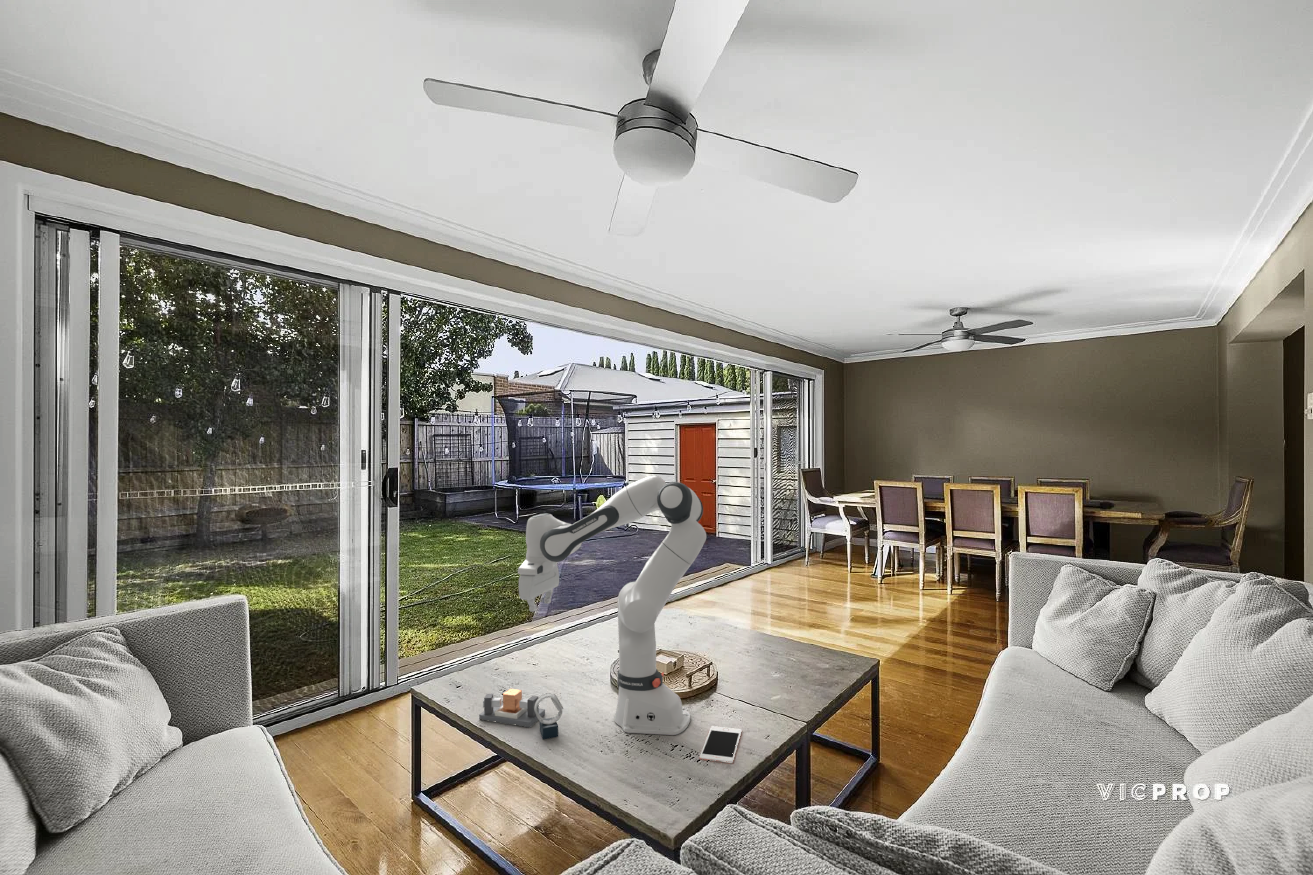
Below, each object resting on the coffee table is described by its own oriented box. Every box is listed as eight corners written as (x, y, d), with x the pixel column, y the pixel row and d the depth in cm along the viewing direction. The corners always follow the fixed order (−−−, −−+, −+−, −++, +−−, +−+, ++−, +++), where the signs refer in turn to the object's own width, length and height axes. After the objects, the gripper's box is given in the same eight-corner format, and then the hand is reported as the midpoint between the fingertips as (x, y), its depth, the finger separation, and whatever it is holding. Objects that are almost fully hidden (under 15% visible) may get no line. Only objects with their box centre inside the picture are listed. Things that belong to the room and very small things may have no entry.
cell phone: (742, 732, 173) (742, 728, 173) (733, 765, 156) (733, 761, 156) (711, 728, 176) (711, 725, 176) (699, 760, 158) (699, 757, 158)
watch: (565, 735, 172) (564, 696, 172) (536, 740, 169) (535, 700, 169) (561, 726, 177) (560, 688, 177) (533, 731, 174) (532, 692, 174)
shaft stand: (545, 714, 185) (544, 692, 185) (529, 727, 177) (529, 705, 177) (496, 706, 190) (496, 686, 190) (479, 719, 182) (479, 697, 182)
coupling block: (510, 708, 186) (510, 688, 186) (521, 709, 185) (521, 690, 185) (503, 713, 182) (502, 693, 182) (514, 715, 181) (514, 695, 181)
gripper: (546, 557, 208) (547, 598, 208) (514, 570, 189) (515, 614, 189) (563, 558, 206) (564, 599, 206) (532, 571, 187) (533, 616, 187)
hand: (540, 606), depth 197 cm, fingers open, 8 cm apart
